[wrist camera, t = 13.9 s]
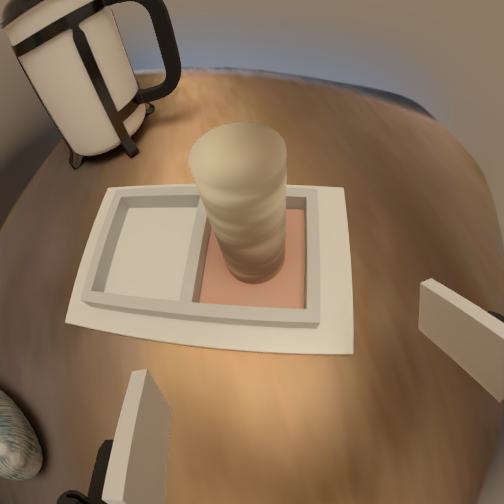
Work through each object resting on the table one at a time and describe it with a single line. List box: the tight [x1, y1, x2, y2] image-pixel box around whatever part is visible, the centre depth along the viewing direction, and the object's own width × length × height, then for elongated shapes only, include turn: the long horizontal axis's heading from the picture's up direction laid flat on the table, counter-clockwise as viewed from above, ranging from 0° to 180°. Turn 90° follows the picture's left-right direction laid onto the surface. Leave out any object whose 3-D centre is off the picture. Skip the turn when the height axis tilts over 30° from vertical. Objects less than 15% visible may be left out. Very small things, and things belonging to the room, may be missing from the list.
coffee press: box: [0, 0, 181, 169], centre depth 23 cm, size 17×16×30 cm
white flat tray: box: [65, 184, 353, 355], centre depth 25 cm, size 26×16×3 cm, turn 85°
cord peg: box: [188, 122, 286, 284], centre depth 19 cm, size 5×5×12 cm
